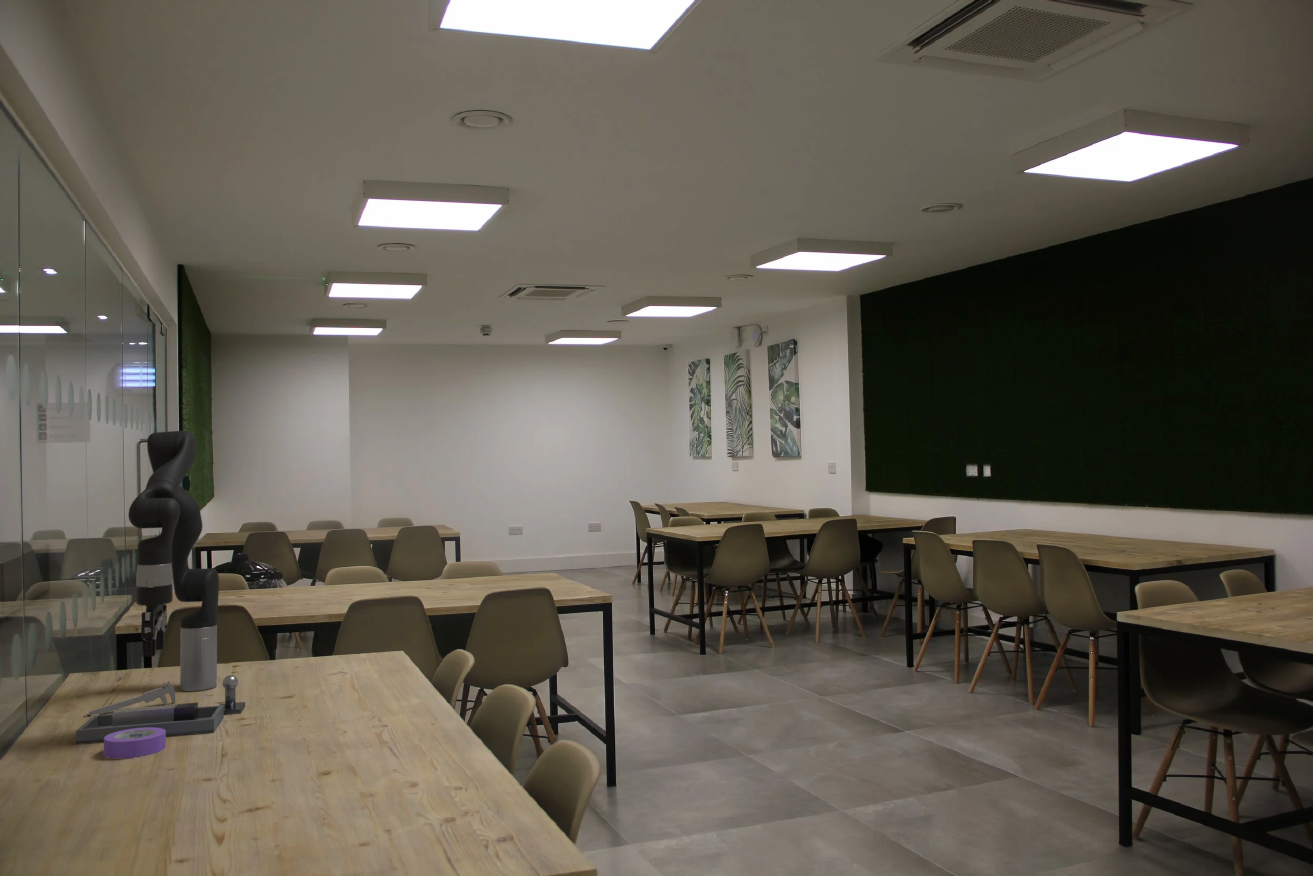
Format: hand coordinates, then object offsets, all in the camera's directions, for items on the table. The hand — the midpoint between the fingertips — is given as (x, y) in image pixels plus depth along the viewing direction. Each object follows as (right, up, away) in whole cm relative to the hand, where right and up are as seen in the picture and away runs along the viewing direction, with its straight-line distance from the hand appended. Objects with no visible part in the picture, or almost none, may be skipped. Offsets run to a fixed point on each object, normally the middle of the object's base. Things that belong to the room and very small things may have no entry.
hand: (154, 652), depth 218 cm
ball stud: (+10, -18, +17) cm, 27 cm away
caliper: (-16, -19, +19) cm, 32 cm away
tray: (0, -18, -1) cm, 18 cm away
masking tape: (+5, -18, -17) cm, 25 cm away
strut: (0, -17, -1) cm, 17 cm away
